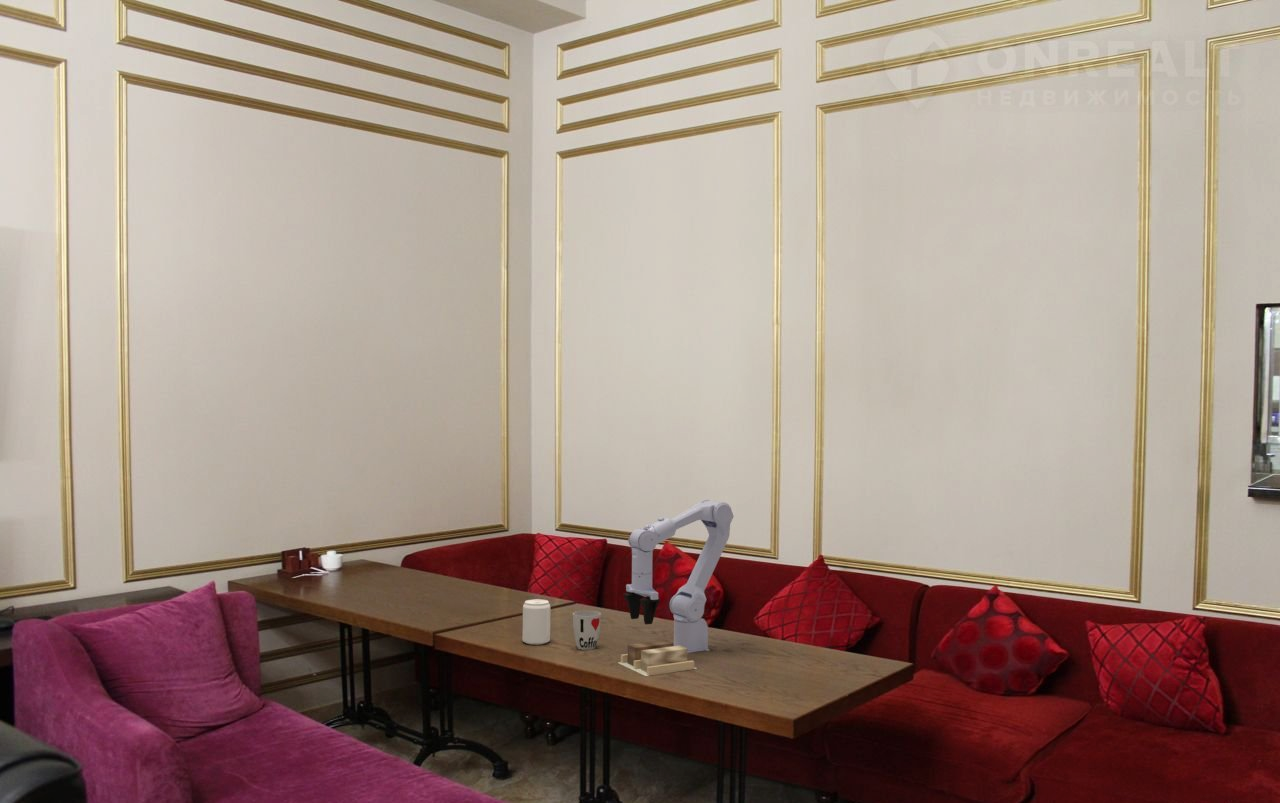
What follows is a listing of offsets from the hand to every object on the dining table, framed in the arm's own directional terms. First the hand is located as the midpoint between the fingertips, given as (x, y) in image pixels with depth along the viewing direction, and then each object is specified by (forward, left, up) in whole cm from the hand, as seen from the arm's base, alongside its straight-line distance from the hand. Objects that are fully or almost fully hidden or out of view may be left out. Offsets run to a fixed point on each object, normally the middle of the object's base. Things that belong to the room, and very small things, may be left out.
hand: (641, 621), depth 273 cm
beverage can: (+19, -29, -10) cm, 36 cm away
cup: (+9, -16, -10) cm, 21 cm away
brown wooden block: (+2, +9, -9) cm, 13 cm away
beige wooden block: (+2, +16, -9) cm, 18 cm away
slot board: (+2, +12, -10) cm, 16 cm away
